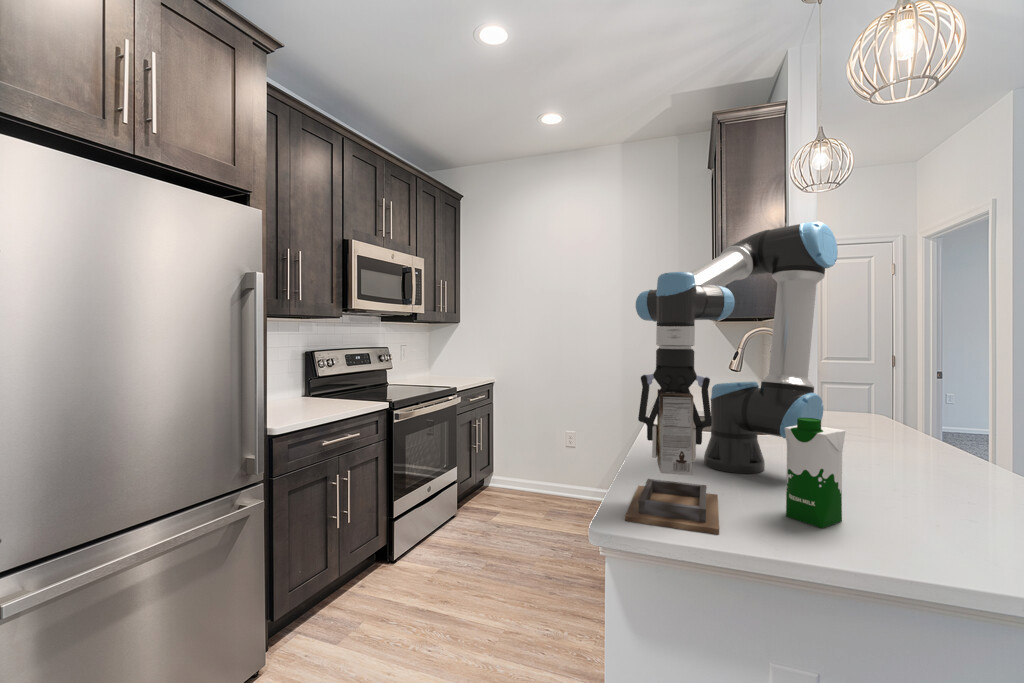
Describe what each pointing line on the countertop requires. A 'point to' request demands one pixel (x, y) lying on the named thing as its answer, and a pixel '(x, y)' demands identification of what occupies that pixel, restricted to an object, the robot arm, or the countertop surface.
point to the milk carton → (814, 473)
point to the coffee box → (675, 433)
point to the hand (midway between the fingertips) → (673, 457)
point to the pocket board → (675, 506)
